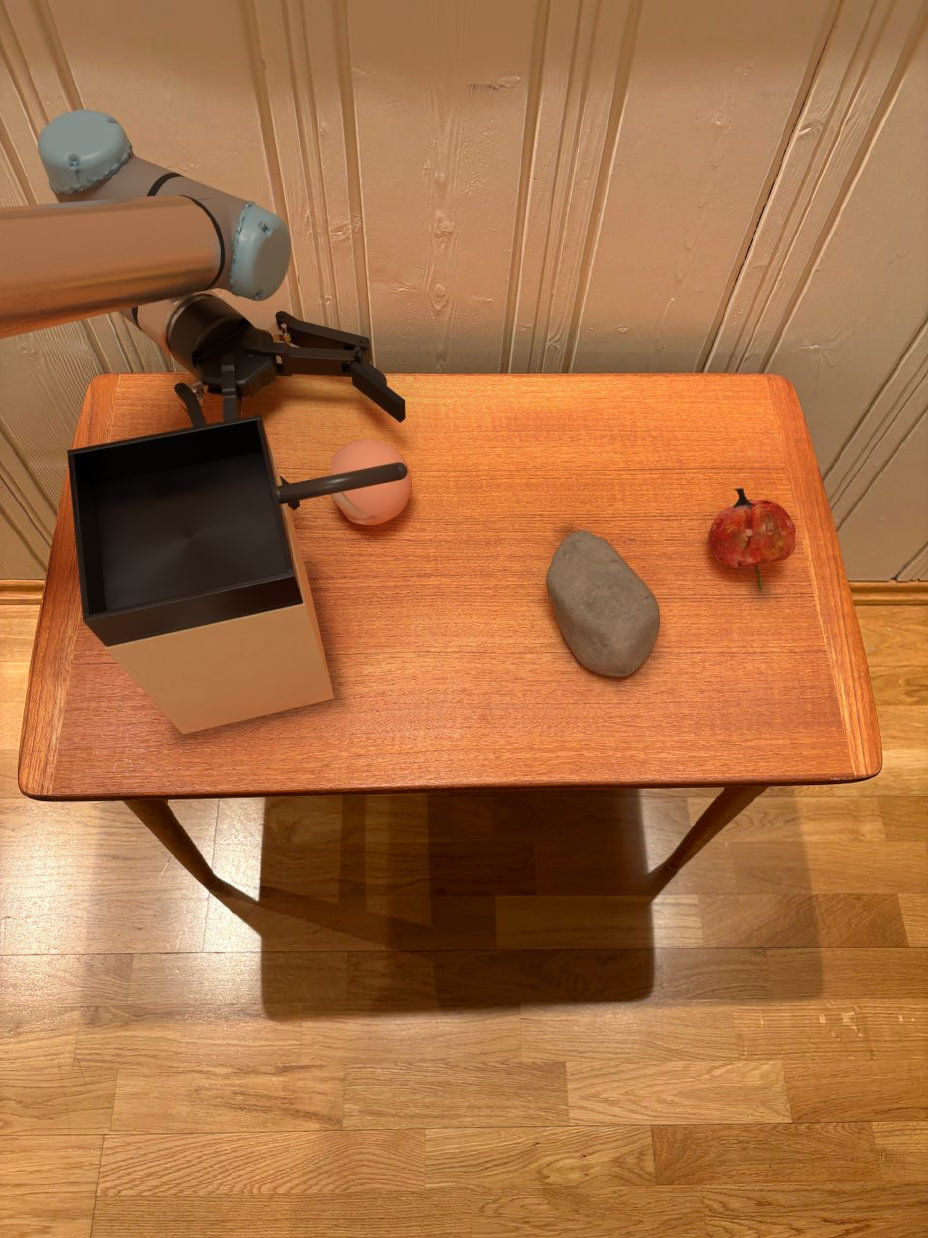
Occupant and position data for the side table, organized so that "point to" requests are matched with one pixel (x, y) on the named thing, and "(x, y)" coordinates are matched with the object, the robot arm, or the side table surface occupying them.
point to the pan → (189, 528)
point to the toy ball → (373, 500)
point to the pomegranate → (752, 533)
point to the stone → (602, 605)
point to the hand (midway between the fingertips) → (350, 454)
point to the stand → (234, 662)
